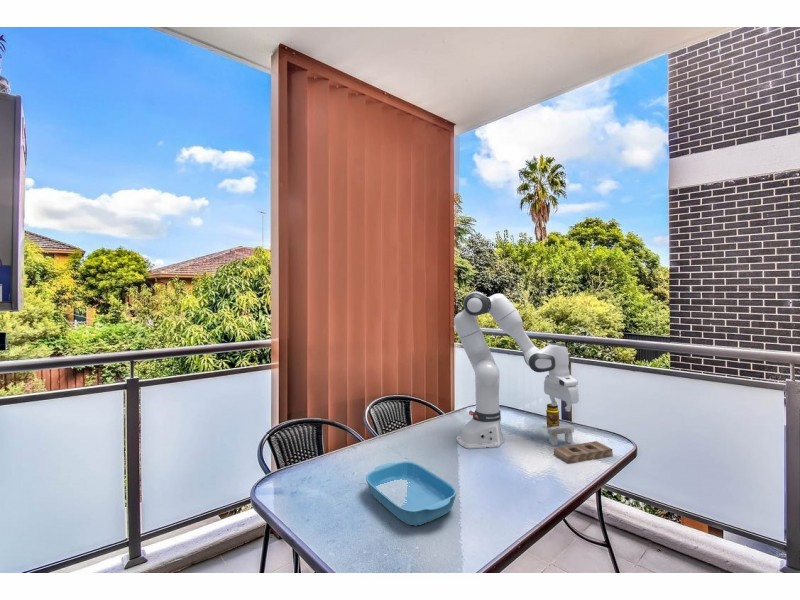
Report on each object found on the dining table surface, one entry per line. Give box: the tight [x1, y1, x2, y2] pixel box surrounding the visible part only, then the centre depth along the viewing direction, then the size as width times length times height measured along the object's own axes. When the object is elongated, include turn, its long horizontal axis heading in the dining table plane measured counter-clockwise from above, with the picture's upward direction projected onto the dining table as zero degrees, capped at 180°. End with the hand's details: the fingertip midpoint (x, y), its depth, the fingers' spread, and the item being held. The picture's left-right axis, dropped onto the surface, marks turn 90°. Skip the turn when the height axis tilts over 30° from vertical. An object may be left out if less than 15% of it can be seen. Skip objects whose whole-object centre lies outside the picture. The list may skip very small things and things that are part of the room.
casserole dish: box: [365, 460, 457, 527], centre depth 132 cm, size 37×22×7 cm, turn 32°
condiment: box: [542, 402, 560, 429], centre depth 196 cm, size 7×8×12 cm
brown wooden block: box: [553, 440, 613, 465], centre depth 162 cm, size 22×9×3 cm, turn 104°
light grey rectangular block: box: [546, 424, 575, 447], centre depth 175 cm, size 12×3×8 cm, turn 104°
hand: (560, 408), depth 175 cm, fingers open, 8 cm apart
